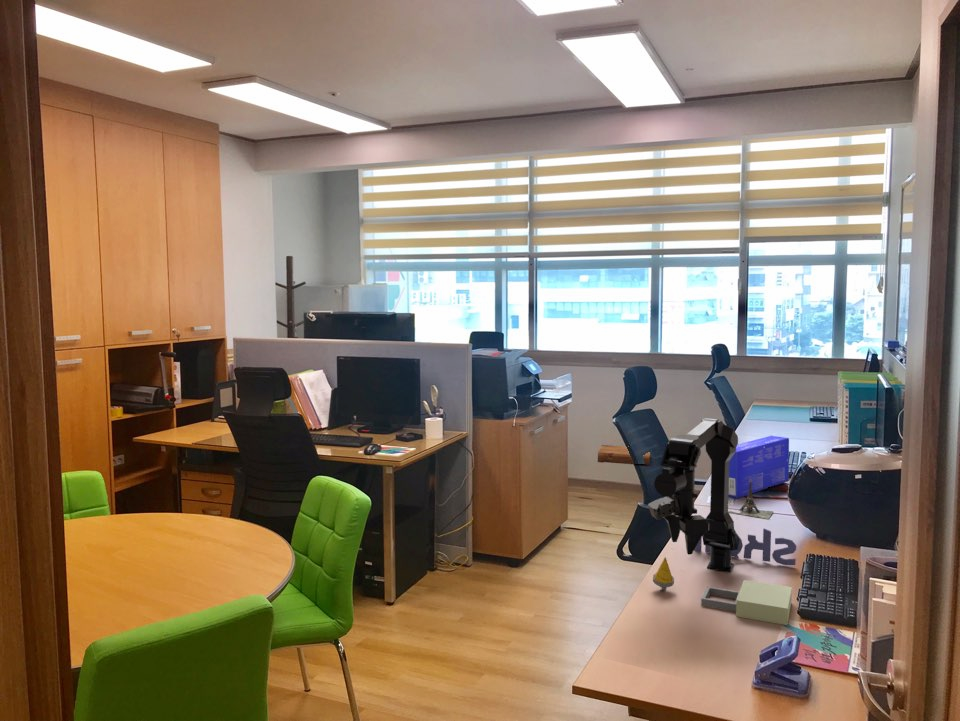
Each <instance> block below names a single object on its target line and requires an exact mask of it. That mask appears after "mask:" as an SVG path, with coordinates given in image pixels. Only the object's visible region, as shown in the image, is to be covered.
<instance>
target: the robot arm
mask: <svg viewBox="0 0 960 721" xmlns="http://www.w3.org/2000/svg"><path fill="white" fill-rule="evenodd" d="M737 444H739V437H738V435H737V433H736V431H735V430H734V429H733V428H731V427H730V426H728V425H726V424H724V422H723V421H722V420H720V419H718V418H709V417H705V418H702V419H701V421H700V423H699V424H698V425H696V426H695V427H693V429H691V430H690V431H688V432H687V433H686V434H682V435H676V436H674V437H673V436H672V437H671V438H670V439H669V441H668V442H667V443H666V446H665V449H664V452H663V456H662V459H661V463H660V466H661V467H662V469H661V472H660V473H659V474H658V475H657V476H656V477H655V479H654V482H653V483H654V489H655V490H656V492H657V493H658V494H659V495H660V496H662V497H660V498H657V499H655V500H653V501H651V502H649V503H648V504H647V506H648V509H649V512H650V514H651V517H653V518H655V520H657V521H659V520H662V519H665V520H666V524H667V527H668V530H669V535H670V538H671V542H673V543H677V542H678V539H679V536H680V533H681V532H682V533H683V535H684V540H685V548H686V554H687V555H688V556H689V555H693V553H694V551H695V550H694V549H695V547H696V546H697V544H698V542H699V540H700V539H701V537H702V543H703V544H702V545H703V546H705V545H708V546H710V553H709V562H708V565H707V566H706V569H707V570H712V571H720V572H727V573H732V571H733V568H734V566H735V565H734V563H733V562H732V556H731V551H733V550H738V546H739V538H738V536H739V535H738V536H737V534H738V533H737V531H736V530H735V521H734V520H733V518H732V516H731V513H728V511H729V497H728V493H729V461H730V459H731V458H732V456H733V455H734V454H735V452H736V447H737ZM704 446H705V452H706V453H707V456H708V457H709V459H710V461H711V463H710V464H711V468H710V470H711V473H710V474H711V475H710V500H709V501H710V503H709V504H710V509H709V510H710V511H709V513H708V514H707V516H706V517H704V516H702V515H700V514H698V509H697V508H695V499H696V498H698V493H697V492H696V491H695V469H696V468H697V467H698V466H697V464H698V462H699V459H700V456H701V453H702V450H701V448H703V447H704ZM697 514H698V515H697ZM736 533H737V534H736Z"/></svg>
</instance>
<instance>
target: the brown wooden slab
mask: <svg viewBox="0 0 960 721" xmlns="http://www.w3.org/2000/svg"><path fill="white" fill-rule="evenodd" d="M650 456H651V453H650V452H648V453H646V454H645V455H643V459H644V462H645V464H646V465H645V466H650ZM597 463H603V464H604V463H609V464H622V465H623V464H624V465H635V464H634V463H633V461H632V458H631V456H630V454H629V451H628V449H627V447H626V445H609V444H607V445H605V444H602V445H601V446H600V448H599V450H598V452H597Z"/></svg>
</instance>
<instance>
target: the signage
mask: <svg viewBox="0 0 960 721" xmlns="http://www.w3.org/2000/svg"><path fill="white" fill-rule="evenodd" d="M736 534H737V536H738V538H739V546H738V550H733V551H731V557H734V558H735V559H740V557H739V554H741V552H742V549H743V559H748V560H750V559H752V551H753V550H757V551H758V550H759V551H762V562H768V563H769V562H771V556H772V559H773V560H774V561H775V562H776V563H777V564H780V565H784V566H796V558H783V557H781V556H786V555H791V554H794V553H795V552H796V551H797V544H796V543H795V542H794V541H793V540H791V539H788V538H784V537H775V538H774V544H775V545H785V546H787V547H782V548H777V549H774V550H773V551H772V553H771V548H772V547H771V545H772V542H771V541H772V531H771V530H769V529H766V528H763V533H762V541H761V542H760V541H758V540H757V535H755V534H747V541H748V543H747V544H745V545H743V539H742V538H741V537H740V536H739V534H738V533H737V532H736ZM702 543H703V537H701V539H700V540H699V542H698V544H697V546H696V547H695V549H694V551H696V552H700V553H701V552H702V545H703V544H702ZM704 546H705V548H704V549H705V551H704V552H705V553H706V554H707V553H709V554H710V546H708V545H704ZM771 554H772V555H771Z"/></svg>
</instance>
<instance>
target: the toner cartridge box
mask: <svg viewBox="0 0 960 721" xmlns="http://www.w3.org/2000/svg"><path fill="white" fill-rule="evenodd" d="M789 464H790V438H789V437H784V436H776V435H775V436H774V435H768V436H765V437H764V436H763V437H760V438H755V439H752V440H748V441H746V442H742V443H738V444H737V447H736V452H735V454H734V455H733V456H732V458H731V459H730V461H729V493H728V498H732V499H739V498H743V497H745V496H746V497H747V496H748V492H749V483H750V481H749V479H750V476H751V480H752V481H751V487H752V494H754V493H757V492H758V493H759V492H761V491H764V490H767V489H769V488H768V487H770V488H772V487H775V486H779V485H780V484H783V483H784V484H785V483H786V482H789V480H790V476H789V475H790V473H789V472H790V469H789V468H790V465H789ZM774 485H775V486H774ZM771 486H772V487H771Z"/></svg>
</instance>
